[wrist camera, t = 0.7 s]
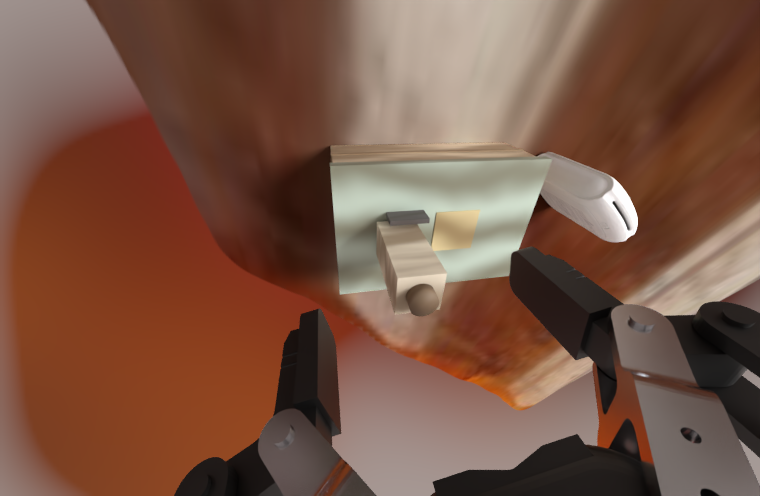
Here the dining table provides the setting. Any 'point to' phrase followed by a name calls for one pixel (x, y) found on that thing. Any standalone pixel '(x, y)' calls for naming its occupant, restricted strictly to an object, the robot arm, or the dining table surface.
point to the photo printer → (589, 199)
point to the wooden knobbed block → (409, 269)
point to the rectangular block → (433, 205)
